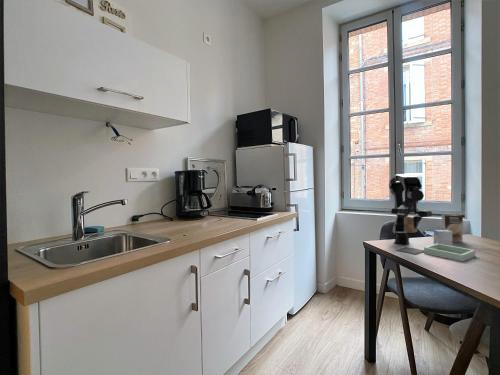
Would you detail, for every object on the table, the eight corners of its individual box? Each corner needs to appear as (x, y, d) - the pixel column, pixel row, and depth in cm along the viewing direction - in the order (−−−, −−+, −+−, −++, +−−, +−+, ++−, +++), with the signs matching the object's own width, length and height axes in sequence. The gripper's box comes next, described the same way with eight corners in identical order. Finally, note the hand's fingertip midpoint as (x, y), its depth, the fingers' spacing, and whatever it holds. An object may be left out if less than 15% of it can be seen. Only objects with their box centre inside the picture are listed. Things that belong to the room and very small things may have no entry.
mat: (396, 250, 145) (396, 249, 145) (406, 247, 150) (406, 246, 150) (415, 254, 136) (415, 253, 136) (425, 251, 141) (425, 250, 141)
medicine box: (447, 244, 154) (447, 229, 154) (452, 246, 150) (452, 231, 149) (433, 244, 155) (433, 229, 155) (437, 246, 150) (437, 231, 150)
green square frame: (424, 253, 139) (423, 247, 139) (437, 248, 146) (437, 243, 146) (462, 261, 124) (462, 255, 124) (475, 256, 131) (475, 250, 131)
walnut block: (404, 231, 144) (403, 217, 143) (408, 230, 146) (408, 216, 146) (412, 232, 140) (412, 218, 139) (417, 231, 142) (417, 217, 142)
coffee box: (444, 241, 161) (444, 215, 160) (441, 239, 167) (441, 213, 166) (463, 242, 158) (463, 215, 157) (458, 239, 164) (458, 214, 163)
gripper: (385, 199, 146) (385, 227, 147) (421, 201, 130) (421, 232, 131) (396, 198, 152) (396, 224, 152) (432, 200, 136) (432, 229, 136)
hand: (410, 227), depth 143 cm, fingers closed on walnut block, 4 cm apart
